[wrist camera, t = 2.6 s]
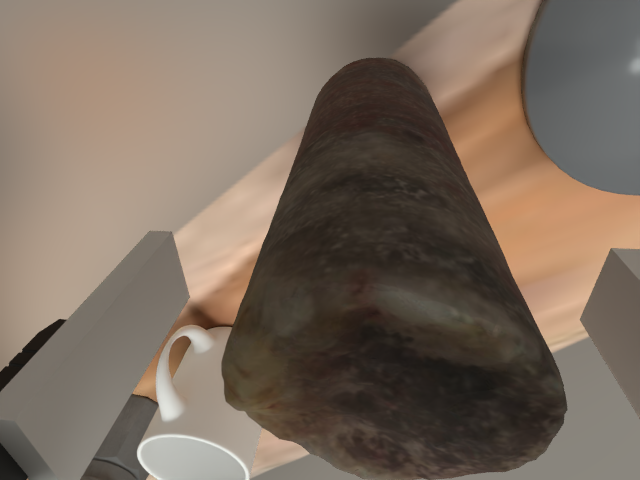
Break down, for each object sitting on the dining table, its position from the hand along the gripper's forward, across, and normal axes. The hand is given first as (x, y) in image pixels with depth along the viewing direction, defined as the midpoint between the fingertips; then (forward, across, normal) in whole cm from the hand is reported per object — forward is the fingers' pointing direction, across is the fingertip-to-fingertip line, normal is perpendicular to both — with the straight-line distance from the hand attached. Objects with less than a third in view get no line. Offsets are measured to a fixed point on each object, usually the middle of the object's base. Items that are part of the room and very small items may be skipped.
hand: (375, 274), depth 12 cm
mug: (+15, -13, -20) cm, 29 cm away
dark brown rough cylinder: (+15, 0, 0) cm, 15 cm away
